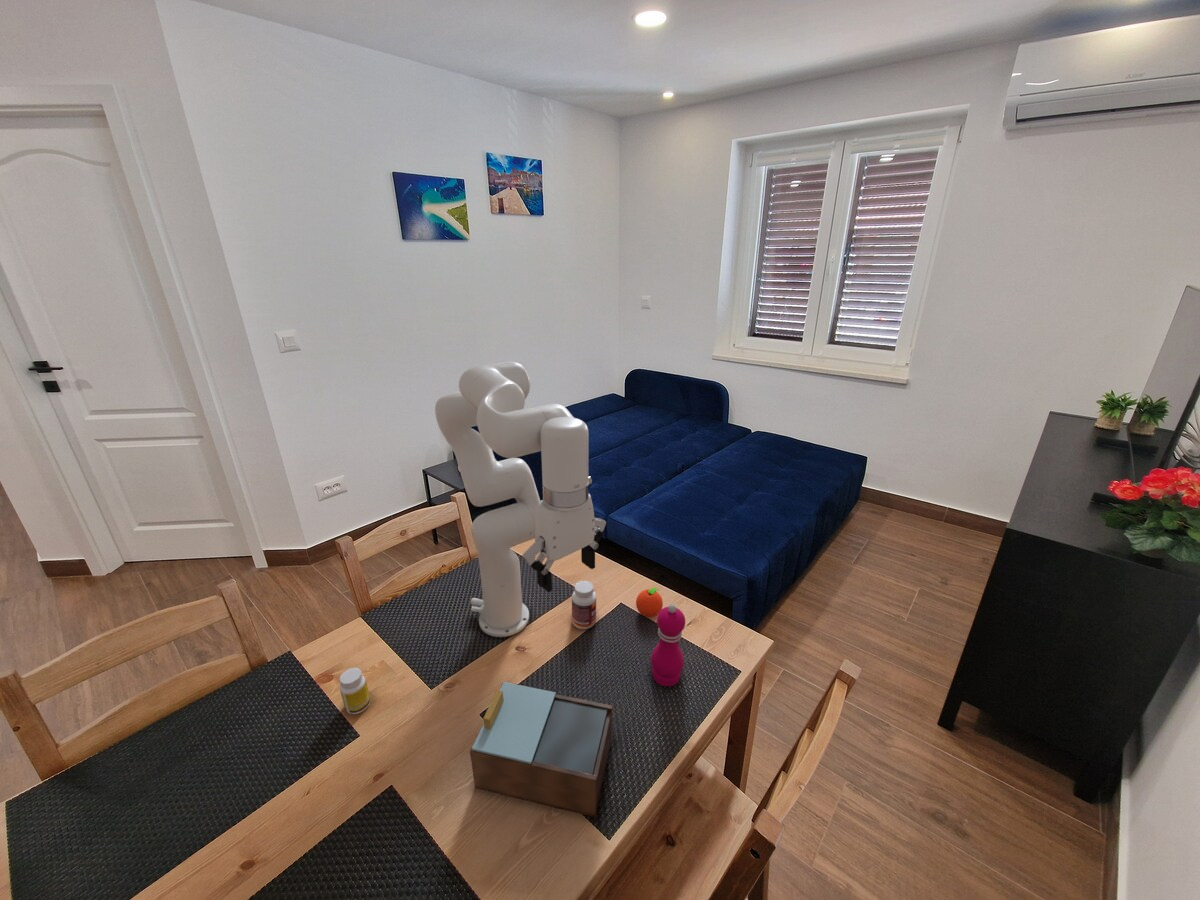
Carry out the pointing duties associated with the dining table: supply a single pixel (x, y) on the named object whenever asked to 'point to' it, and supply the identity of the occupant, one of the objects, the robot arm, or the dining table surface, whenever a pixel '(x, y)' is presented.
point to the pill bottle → (584, 605)
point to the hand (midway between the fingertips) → (567, 576)
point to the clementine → (649, 602)
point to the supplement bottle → (354, 691)
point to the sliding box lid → (514, 722)
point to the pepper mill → (668, 647)
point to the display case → (556, 760)
